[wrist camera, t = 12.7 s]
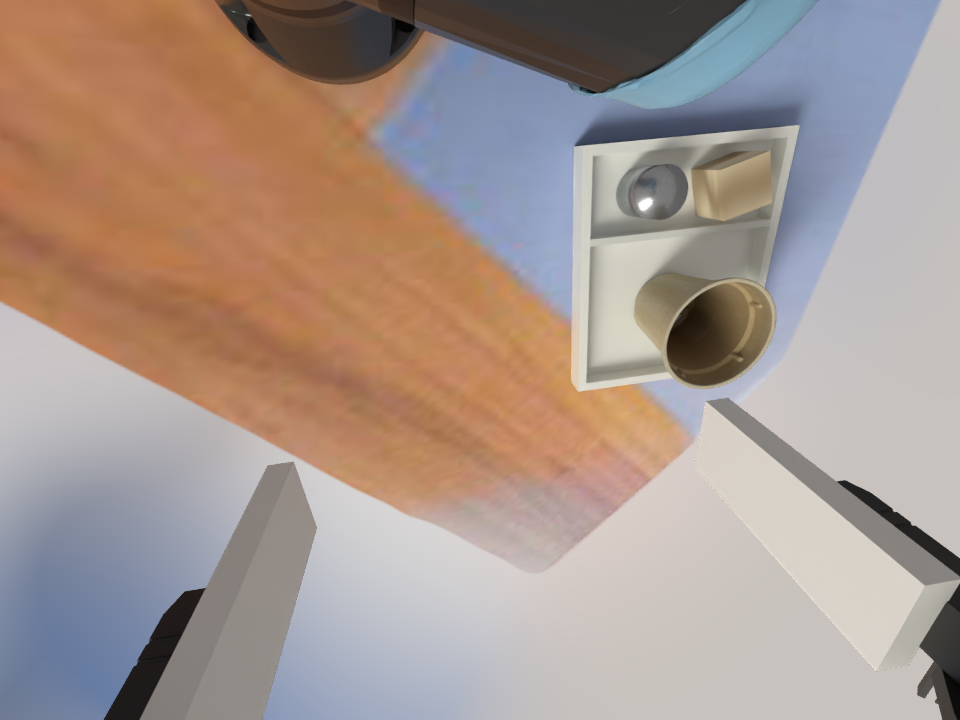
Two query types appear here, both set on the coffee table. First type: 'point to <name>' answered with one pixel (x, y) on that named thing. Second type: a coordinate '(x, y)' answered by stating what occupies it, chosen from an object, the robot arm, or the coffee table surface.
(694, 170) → the beech part
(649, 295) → the flower pot
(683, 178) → the metal part
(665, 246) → the tray
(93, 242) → the coffee table surface
